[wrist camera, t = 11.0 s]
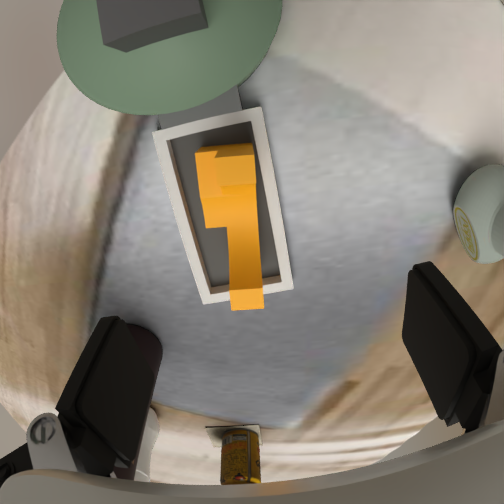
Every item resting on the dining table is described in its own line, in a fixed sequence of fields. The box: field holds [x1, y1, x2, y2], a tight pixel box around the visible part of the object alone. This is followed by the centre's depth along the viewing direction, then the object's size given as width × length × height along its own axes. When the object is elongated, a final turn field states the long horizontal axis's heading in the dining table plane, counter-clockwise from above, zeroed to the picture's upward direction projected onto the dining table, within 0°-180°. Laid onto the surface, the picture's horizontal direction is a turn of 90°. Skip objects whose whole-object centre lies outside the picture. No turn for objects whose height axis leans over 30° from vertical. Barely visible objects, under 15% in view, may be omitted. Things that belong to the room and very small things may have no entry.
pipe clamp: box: [195, 143, 264, 310], centre depth 25 cm, size 12×4×6 cm, turn 4°
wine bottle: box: [113, 324, 162, 481], centre depth 22 cm, size 7×7×30 cm
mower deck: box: [57, 0, 294, 304], centre depth 20 cm, size 17×35×9 cm, turn 11°
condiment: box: [205, 425, 262, 485], centre depth 40 cm, size 7×8×12 cm
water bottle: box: [134, 408, 160, 482], centre depth 31 cm, size 7×7×25 cm
